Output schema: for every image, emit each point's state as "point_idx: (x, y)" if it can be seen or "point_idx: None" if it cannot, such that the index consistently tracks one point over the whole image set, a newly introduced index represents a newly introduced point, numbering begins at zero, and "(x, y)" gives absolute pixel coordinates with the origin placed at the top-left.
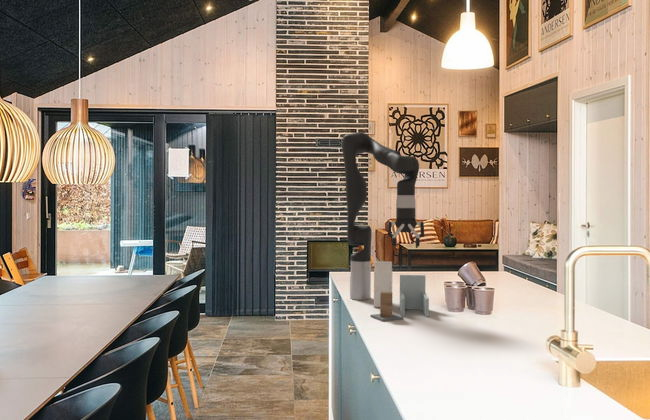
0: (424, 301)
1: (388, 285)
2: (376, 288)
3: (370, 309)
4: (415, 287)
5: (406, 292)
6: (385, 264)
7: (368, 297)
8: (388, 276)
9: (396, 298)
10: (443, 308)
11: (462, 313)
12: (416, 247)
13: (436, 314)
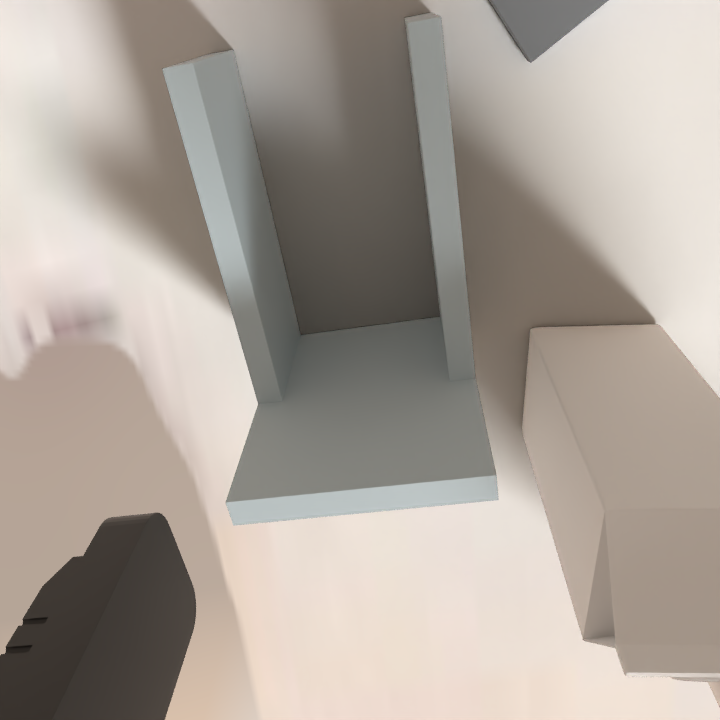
0: (238, 184)
1: (592, 420)
2: (698, 401)
3: (690, 243)
4: (337, 417)
5: (417, 383)
6: (693, 637)
7: None
8: (619, 477)
9: (497, 610)
10: (167, 394)
11: (7, 263)
12: (142, 516)
13: (171, 180)
